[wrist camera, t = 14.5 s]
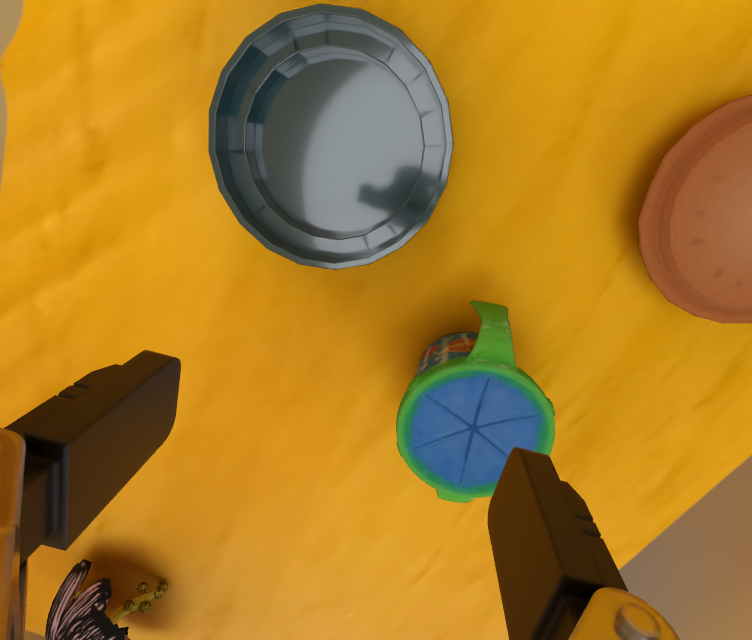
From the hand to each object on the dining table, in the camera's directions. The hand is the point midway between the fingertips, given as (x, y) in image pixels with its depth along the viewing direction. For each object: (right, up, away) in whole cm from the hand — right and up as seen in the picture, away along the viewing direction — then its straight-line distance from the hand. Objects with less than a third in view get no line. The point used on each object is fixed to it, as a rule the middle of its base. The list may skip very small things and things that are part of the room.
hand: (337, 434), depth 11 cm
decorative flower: (-27, -28, +42) cm, 57 cm away
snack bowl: (-2, +16, +25) cm, 29 cm away
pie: (+27, +11, +24) cm, 38 cm away
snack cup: (+8, -2, +30) cm, 31 cm away
